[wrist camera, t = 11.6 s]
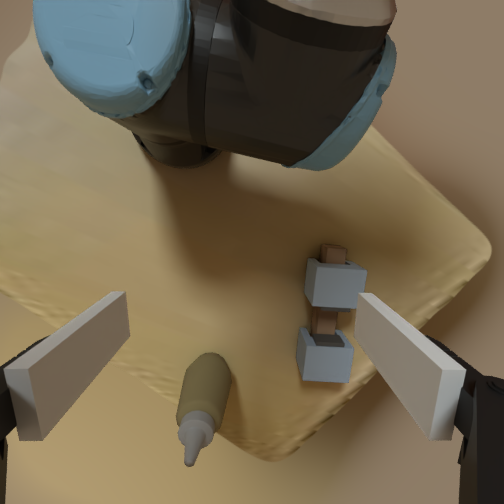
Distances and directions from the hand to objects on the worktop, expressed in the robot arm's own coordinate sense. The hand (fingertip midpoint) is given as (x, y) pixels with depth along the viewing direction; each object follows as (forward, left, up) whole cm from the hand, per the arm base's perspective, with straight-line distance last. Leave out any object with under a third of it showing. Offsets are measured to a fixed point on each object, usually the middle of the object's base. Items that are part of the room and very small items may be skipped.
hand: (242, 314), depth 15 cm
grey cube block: (+5, +14, -29) cm, 33 cm away
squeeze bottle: (+24, -5, -30) cm, 38 cm away
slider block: (+18, +14, -29) cm, 37 cm away
